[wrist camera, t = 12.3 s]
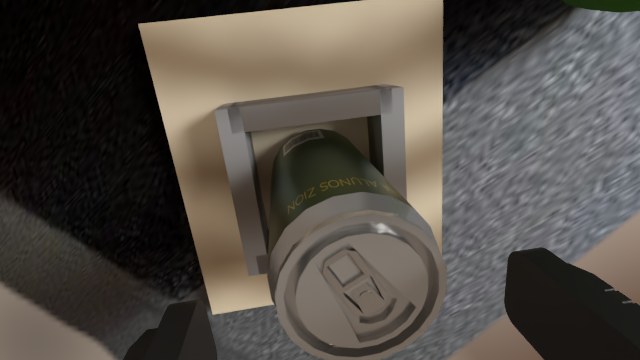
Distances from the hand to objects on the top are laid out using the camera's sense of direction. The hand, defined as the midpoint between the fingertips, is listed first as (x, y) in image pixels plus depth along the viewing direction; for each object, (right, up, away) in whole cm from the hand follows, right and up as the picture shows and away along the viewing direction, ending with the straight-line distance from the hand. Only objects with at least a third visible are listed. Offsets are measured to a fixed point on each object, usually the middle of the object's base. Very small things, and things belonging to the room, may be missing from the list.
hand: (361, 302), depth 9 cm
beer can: (-1, +4, +12) cm, 13 cm away
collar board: (-2, +4, +13) cm, 14 cm away
